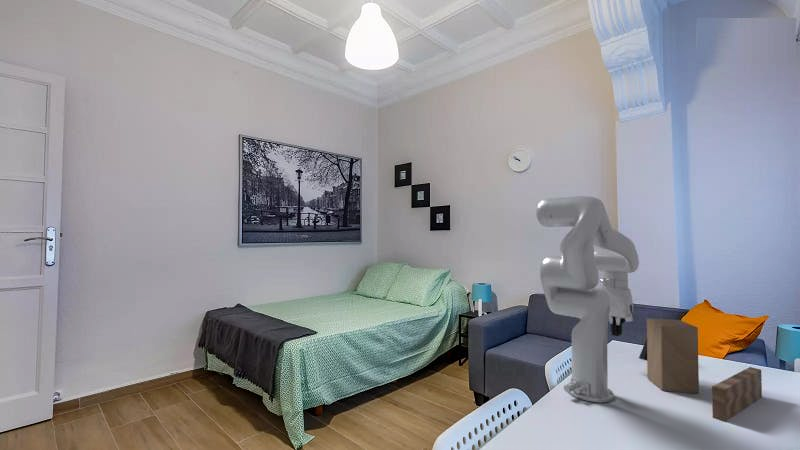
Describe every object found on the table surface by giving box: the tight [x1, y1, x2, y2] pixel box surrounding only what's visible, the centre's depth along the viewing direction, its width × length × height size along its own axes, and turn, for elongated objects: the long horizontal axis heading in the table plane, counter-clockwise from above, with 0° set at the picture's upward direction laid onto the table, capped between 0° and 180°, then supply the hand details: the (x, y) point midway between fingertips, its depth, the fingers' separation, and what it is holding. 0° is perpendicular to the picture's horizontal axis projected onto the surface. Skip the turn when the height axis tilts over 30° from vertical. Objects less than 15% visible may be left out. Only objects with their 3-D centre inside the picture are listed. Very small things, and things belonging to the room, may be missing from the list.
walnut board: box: [711, 366, 763, 422], centre depth 101 cm, size 28×2×8 cm, turn 121°
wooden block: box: [646, 317, 700, 394], centre depth 114 cm, size 10×10×20 cm
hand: (616, 335), depth 130 cm, fingers closed
